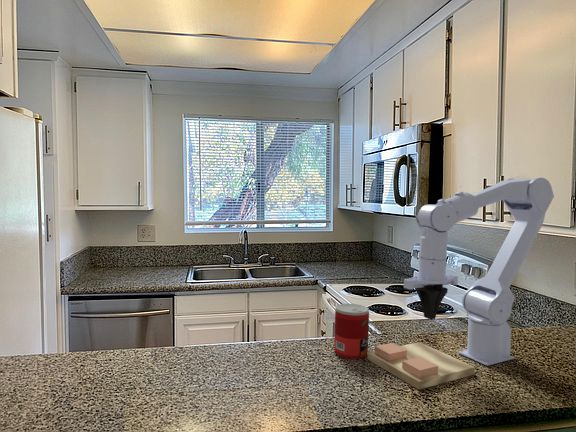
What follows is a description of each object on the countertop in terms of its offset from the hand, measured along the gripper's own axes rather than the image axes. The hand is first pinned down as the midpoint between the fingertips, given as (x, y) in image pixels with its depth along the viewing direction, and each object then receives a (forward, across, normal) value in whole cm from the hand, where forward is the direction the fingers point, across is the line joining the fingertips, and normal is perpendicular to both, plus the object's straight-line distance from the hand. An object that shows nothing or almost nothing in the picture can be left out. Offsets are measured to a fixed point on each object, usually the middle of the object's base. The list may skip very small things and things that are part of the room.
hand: (429, 318), depth 92 cm
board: (+10, +3, +1) cm, 11 cm away
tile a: (+8, +5, -4) cm, 10 cm away
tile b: (+8, +5, +5) cm, 11 cm away
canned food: (+11, +12, -12) cm, 20 cm away
